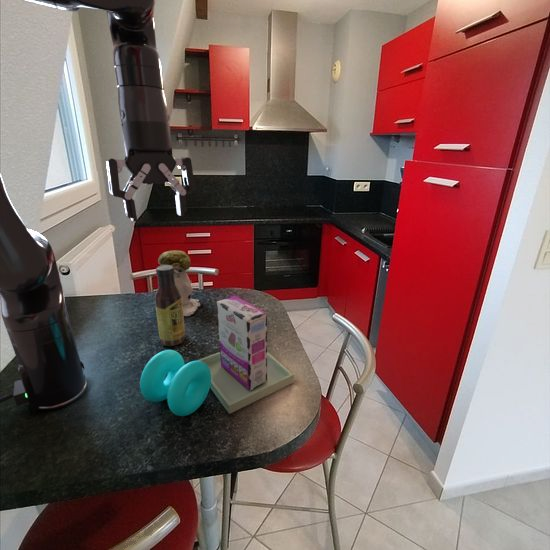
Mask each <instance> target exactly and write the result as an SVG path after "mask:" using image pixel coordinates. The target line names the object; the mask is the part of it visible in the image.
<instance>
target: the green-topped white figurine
mask: <svg viewBox="0 0 550 550" xmlns="http://www.w3.org/2000/svg"><path fill="white" fill-rule="evenodd" d="M157 263H158V264H159V266H163V265H171V266H173V267H174V281H175V285H176V287H177V289H178V291H179V293H180V295H181V297H182V307H183V316H184V317H190V316H192V315H194V314H195V312H196V311H199V310H200V309H199V308H198V307H201V302H199V301H200V300H199V299H195V298H194V299H193V298H191V297H192V294H193V292H194V288H193V286H192V282H193V281H192V280H190V278H189V275H188V273H187V272H186V271H188V270H189V269H190V268H191V258H190V257H189V255H188V254H187V253H186V252H185V251H183V250H177V249H175V250H168V251H164V252H162V253H161V254H160V255H159V257H158V259H157Z"/></svg>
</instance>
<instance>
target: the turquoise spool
mask: <svg viewBox="0 0 550 550" xmlns="http://www.w3.org/2000/svg"><path fill="white" fill-rule="evenodd" d="M210 386H211V372H210V369H209V367H208V366H207V364H205V363H204V362H202V361H197V360H192V361H189V362H187V363H185V360H184V358H183V355H181V354H180V352H178V351H177V350H173V349H164V350H162V351H159V352H157V353H156V354H155V355H154V356H152V357H151V358H150V359H149V360H148V362H147V363H146V365H145V366H144V368H143V370H142V372H141V376H140V380H139V390H140V393H141V396H142V397H143V398H144V399H145V400H147V401H148V402H152V403H160V402H163V401H165V400H166V402H167V405H168V408H169V410H170V412H171V413H173V414H174V415H175V416H177V417H187V416H189V415H191V414H193V413H195V412H196V411H197V410H198V409H199V408H200V407H201V406H202V405H203V403H204V402H205V401H206V399H207V396H208V395H209V392H210V390H211V388H210Z"/></svg>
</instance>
